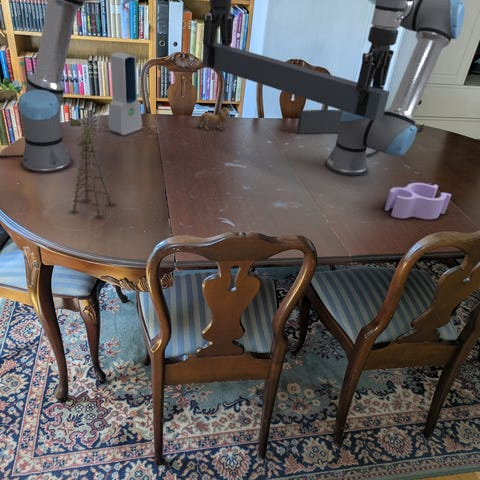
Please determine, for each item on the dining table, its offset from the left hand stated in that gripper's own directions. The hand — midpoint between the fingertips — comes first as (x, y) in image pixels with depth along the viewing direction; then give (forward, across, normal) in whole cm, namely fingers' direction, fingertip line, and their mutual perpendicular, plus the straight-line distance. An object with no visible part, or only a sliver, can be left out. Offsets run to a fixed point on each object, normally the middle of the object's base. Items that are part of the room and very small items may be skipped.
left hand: (216, 65), depth 171 cm
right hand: (0, 0, -63) cm, 63 cm away
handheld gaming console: (+31, +52, -17) cm, 63 cm away
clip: (+31, +16, -80) cm, 88 cm away
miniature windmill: (+31, -64, -17) cm, 74 cm away
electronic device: (+31, -19, +31) cm, 48 cm away
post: (+1, 0, -31) cm, 31 cm away
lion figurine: (+31, +14, +13) cm, 36 cm away
